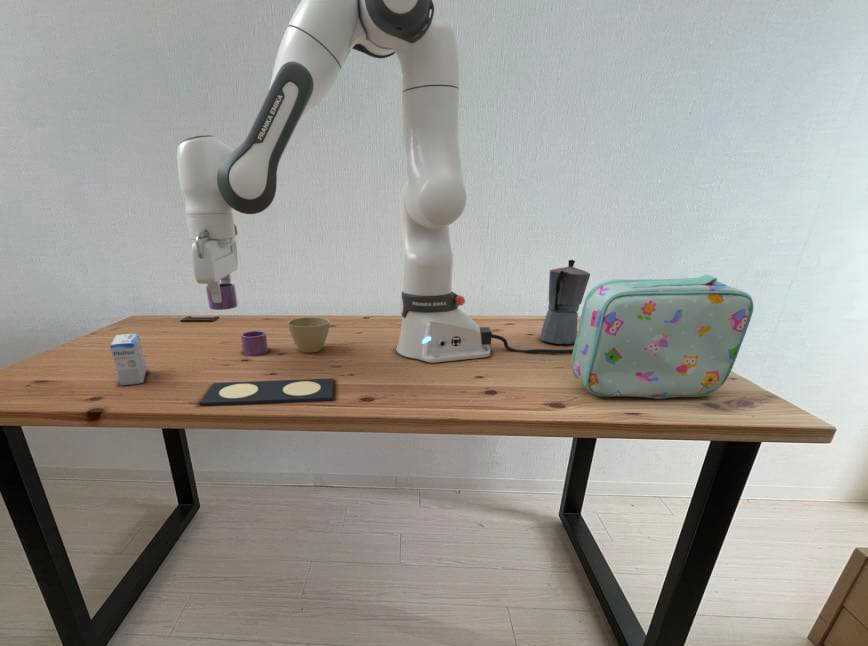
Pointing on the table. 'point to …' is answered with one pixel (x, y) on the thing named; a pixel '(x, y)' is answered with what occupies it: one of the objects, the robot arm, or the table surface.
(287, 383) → the mat
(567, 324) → the moka pot
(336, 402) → the table surface
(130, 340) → the medicine box
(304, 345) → the flower pot
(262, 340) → the purple cup
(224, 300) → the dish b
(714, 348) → the lunch box
